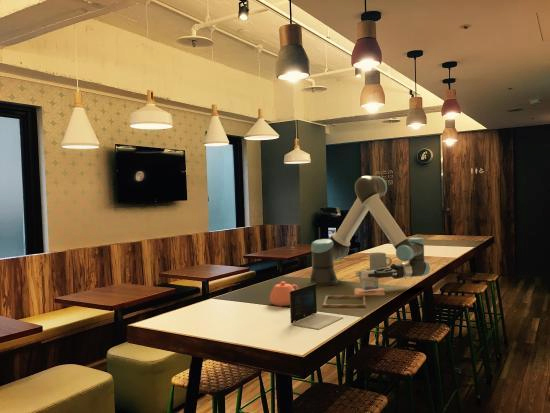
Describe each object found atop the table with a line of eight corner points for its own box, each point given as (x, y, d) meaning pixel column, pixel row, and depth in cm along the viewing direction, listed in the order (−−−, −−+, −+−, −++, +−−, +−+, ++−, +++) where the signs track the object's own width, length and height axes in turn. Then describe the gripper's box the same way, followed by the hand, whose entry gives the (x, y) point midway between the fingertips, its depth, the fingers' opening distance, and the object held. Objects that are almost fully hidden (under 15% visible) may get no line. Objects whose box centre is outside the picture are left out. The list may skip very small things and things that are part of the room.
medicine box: (364, 290, 218) (363, 272, 218) (359, 288, 223) (359, 271, 222) (378, 288, 221) (378, 270, 221) (373, 287, 225) (373, 269, 225)
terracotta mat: (354, 295, 216) (354, 294, 216) (354, 289, 230) (354, 288, 230) (384, 295, 214) (384, 294, 214) (383, 289, 228) (383, 288, 227)
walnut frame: (322, 307, 196) (322, 304, 196) (326, 297, 214) (326, 295, 214) (365, 307, 193) (365, 305, 193) (365, 297, 211) (365, 295, 211)
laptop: (318, 331, 164) (317, 294, 163) (290, 326, 171) (289, 291, 171) (343, 319, 178) (342, 285, 178) (316, 315, 186) (315, 283, 185)
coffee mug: (367, 270, 285) (366, 254, 285) (373, 267, 293) (373, 252, 293) (388, 271, 277) (387, 255, 277) (393, 269, 286) (393, 253, 285)
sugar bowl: (266, 303, 208) (265, 280, 207) (294, 299, 213) (293, 277, 212) (275, 309, 196) (274, 285, 196) (305, 305, 201) (304, 282, 201)
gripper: (411, 281, 219) (368, 286, 212) (390, 275, 236) (350, 279, 228) (410, 265, 219) (368, 269, 212) (390, 261, 236) (349, 264, 228)
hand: (359, 275), depth 220 cm, fingers closed on medicine box, 4 cm apart
